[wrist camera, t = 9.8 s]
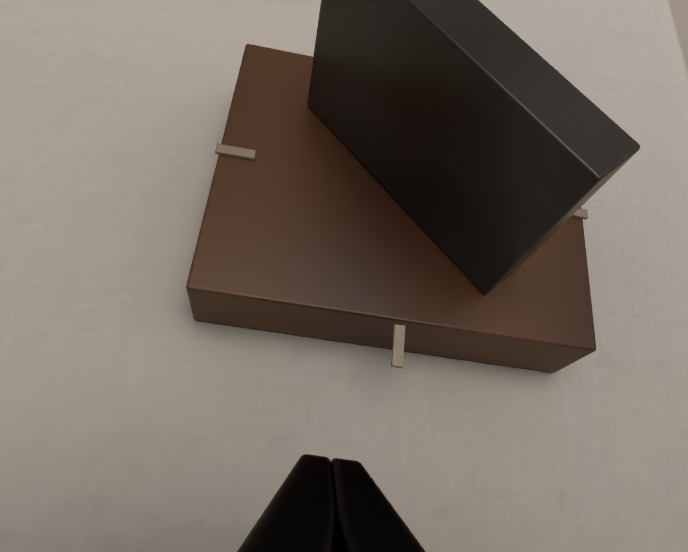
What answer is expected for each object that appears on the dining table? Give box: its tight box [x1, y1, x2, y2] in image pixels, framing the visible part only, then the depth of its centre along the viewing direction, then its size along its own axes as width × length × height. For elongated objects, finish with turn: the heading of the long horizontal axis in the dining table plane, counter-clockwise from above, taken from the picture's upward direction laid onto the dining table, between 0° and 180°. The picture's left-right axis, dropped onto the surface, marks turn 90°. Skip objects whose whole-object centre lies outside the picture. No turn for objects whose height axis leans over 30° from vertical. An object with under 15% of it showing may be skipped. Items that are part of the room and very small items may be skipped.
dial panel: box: [186, 44, 596, 373], centre depth 22 cm, size 14×14×3 cm
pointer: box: [307, 0, 640, 294], centre depth 17 cm, size 10×2×7 cm, turn 40°
